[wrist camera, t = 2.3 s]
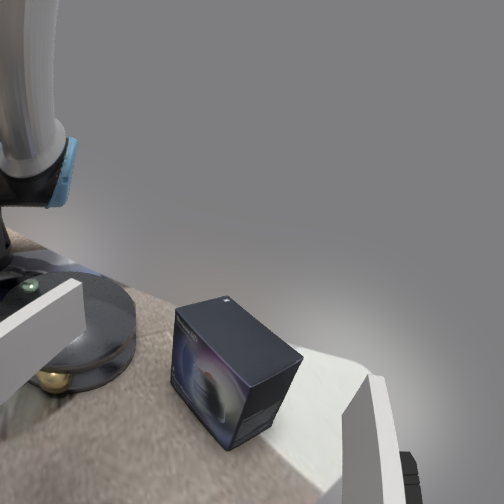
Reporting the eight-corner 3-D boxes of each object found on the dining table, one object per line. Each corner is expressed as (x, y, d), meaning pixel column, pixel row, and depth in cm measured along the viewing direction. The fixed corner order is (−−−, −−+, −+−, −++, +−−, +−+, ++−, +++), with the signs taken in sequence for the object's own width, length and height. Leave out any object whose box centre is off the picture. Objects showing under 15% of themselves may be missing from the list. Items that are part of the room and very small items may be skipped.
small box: (165, 382, 28) (170, 305, 25) (212, 366, 33) (228, 292, 29) (224, 455, 22) (249, 386, 18) (273, 425, 26) (308, 354, 22)
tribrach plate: (-21, 337, 22) (-32, 302, 20) (61, 283, 39) (58, 253, 37) (82, 421, 20) (71, 387, 18) (159, 328, 37) (162, 295, 35)
